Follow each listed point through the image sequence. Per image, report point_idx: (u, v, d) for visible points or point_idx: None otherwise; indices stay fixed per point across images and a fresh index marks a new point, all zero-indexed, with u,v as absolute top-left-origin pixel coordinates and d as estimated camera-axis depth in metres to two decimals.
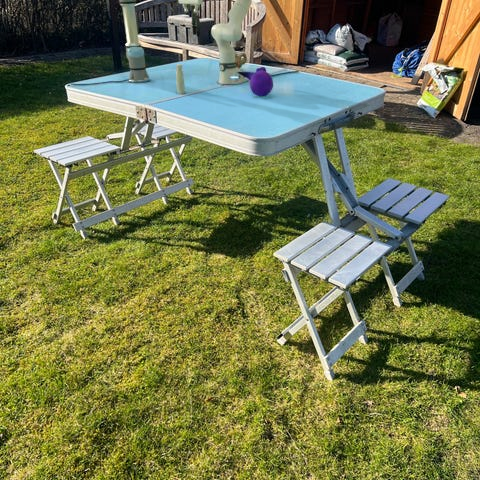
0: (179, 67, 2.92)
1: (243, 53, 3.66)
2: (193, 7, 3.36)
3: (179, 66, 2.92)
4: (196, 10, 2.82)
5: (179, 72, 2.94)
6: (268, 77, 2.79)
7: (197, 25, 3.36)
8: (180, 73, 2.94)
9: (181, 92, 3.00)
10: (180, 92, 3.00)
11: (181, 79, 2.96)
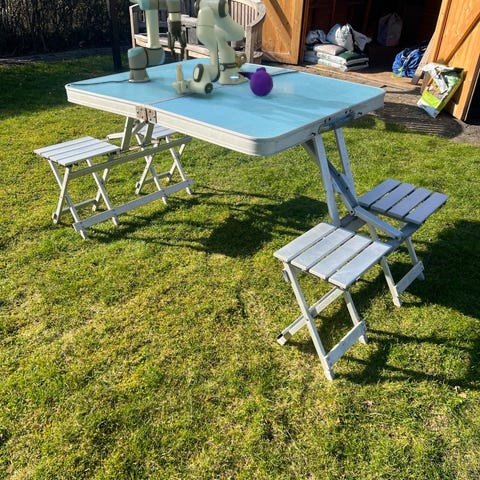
0: (179, 67, 2.92)
1: (243, 53, 3.66)
2: (181, 23, 2.81)
3: (179, 66, 2.92)
4: None
5: (179, 72, 2.94)
6: (268, 77, 2.79)
7: (186, 46, 2.91)
8: (180, 73, 2.94)
9: (181, 92, 3.00)
10: (180, 92, 2.99)
11: (181, 79, 2.96)
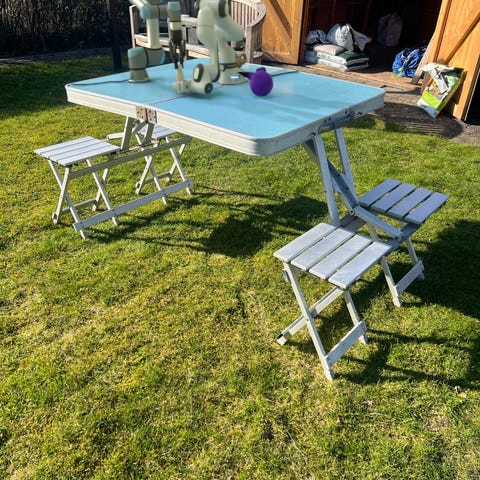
0: (179, 67, 2.92)
1: (243, 53, 3.66)
2: None
3: (179, 66, 2.92)
4: None
5: (179, 72, 2.94)
6: (268, 77, 2.79)
7: (185, 55, 2.93)
8: (180, 73, 2.94)
9: (181, 92, 3.00)
10: (180, 92, 2.99)
11: (181, 79, 2.96)
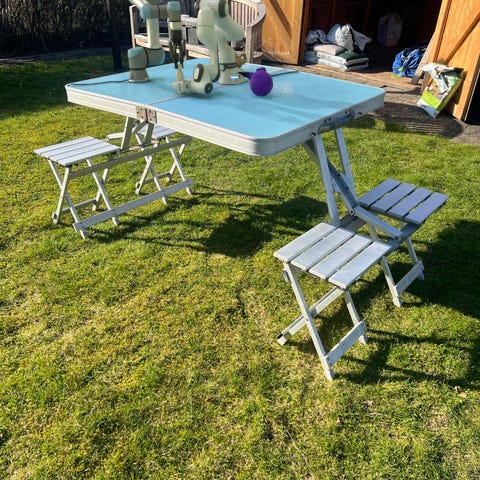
0: None
1: (243, 53, 3.66)
2: None
3: None
4: None
5: (179, 72, 2.94)
6: (268, 77, 2.79)
7: (185, 55, 2.93)
8: (180, 73, 2.94)
9: (181, 92, 3.00)
10: (180, 92, 2.99)
11: (181, 79, 2.96)
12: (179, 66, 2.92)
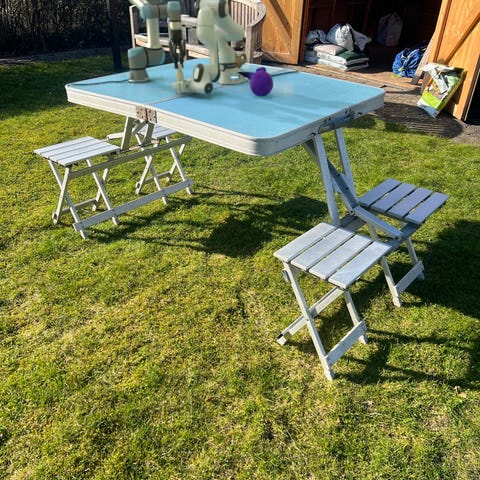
0: None
1: (243, 53, 3.66)
2: None
3: None
4: None
5: (179, 72, 2.94)
6: (268, 77, 2.79)
7: (185, 55, 2.93)
8: (180, 73, 2.94)
9: (181, 92, 3.00)
10: (180, 92, 2.99)
11: (181, 79, 2.96)
12: None
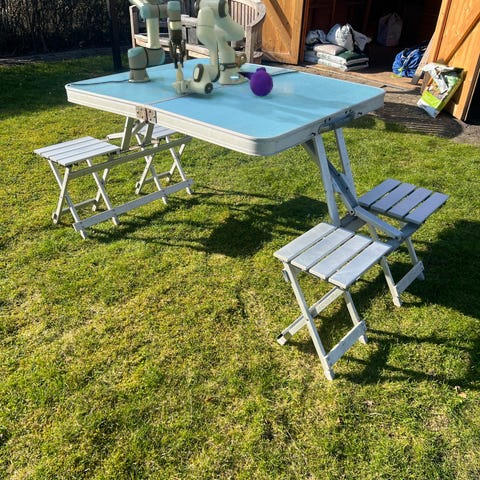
0: None
1: (243, 53, 3.66)
2: (181, 31, 2.84)
3: None
4: None
5: (179, 72, 2.94)
6: (268, 77, 2.79)
7: (185, 54, 2.93)
8: (180, 73, 2.94)
9: (181, 92, 3.00)
10: (180, 92, 2.99)
11: (181, 79, 2.96)
12: None
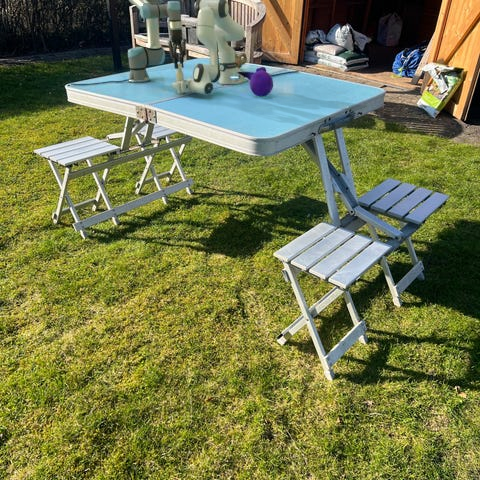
0: (181, 66, 2.93)
1: (243, 53, 3.66)
2: (181, 31, 2.84)
3: (181, 65, 2.93)
4: None
5: (179, 72, 2.94)
6: (268, 77, 2.79)
7: (185, 54, 2.93)
8: (180, 73, 2.94)
9: (181, 92, 3.00)
10: (180, 92, 2.99)
11: (181, 79, 2.96)
12: None
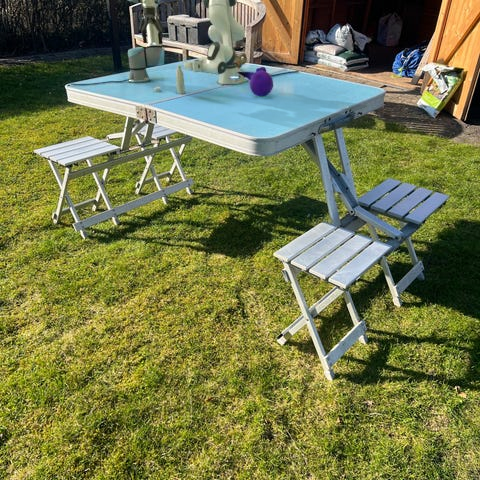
0: None
1: (243, 53, 3.66)
2: None
3: None
4: None
5: (179, 72, 2.94)
6: (268, 77, 2.79)
7: None
8: (180, 73, 2.94)
9: (181, 92, 3.00)
10: (180, 92, 2.99)
11: (181, 79, 2.96)
12: (160, 89, 3.07)
